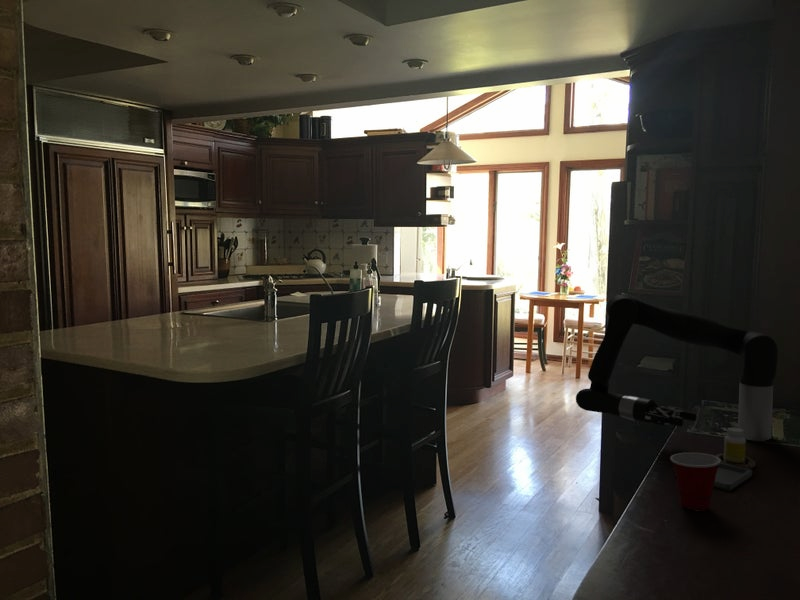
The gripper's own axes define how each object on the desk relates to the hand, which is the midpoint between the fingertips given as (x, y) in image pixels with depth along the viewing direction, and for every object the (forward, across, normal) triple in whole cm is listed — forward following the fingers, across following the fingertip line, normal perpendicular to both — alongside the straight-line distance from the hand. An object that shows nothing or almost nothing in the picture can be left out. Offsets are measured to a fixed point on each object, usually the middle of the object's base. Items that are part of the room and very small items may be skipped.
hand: (689, 420), depth 186 cm
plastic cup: (+18, -37, +10) cm, 42 cm away
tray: (+13, -14, +10) cm, 21 cm away
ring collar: (+13, 0, +10) cm, 16 cm away
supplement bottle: (+13, 0, +10) cm, 16 cm away
